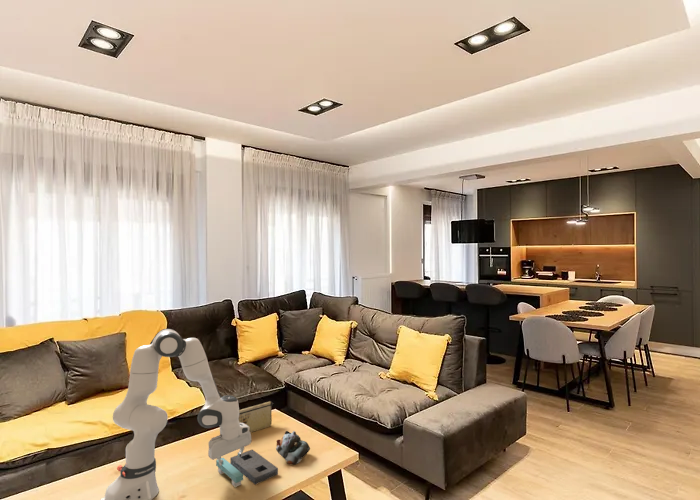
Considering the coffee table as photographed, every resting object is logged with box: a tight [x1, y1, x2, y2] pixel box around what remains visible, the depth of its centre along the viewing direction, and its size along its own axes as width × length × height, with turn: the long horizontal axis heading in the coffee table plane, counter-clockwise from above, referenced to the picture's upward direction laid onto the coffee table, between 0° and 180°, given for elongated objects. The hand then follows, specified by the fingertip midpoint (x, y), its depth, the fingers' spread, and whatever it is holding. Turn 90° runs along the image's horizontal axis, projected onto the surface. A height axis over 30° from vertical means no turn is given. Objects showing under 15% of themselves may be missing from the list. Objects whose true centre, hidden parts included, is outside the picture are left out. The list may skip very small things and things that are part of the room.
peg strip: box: [215, 457, 244, 488], centre depth 186 cm, size 4×20×5 cm, turn 43°
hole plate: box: [229, 449, 279, 486], centre depth 194 cm, size 12×24×3 cm, turn 43°
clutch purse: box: [239, 400, 274, 433], centre depth 234 cm, size 30×7×15 cm, turn 131°
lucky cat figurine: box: [275, 430, 311, 466], centre depth 204 cm, size 15×12×14 cm
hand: (230, 460), depth 188 cm, fingers open, 8 cm apart
